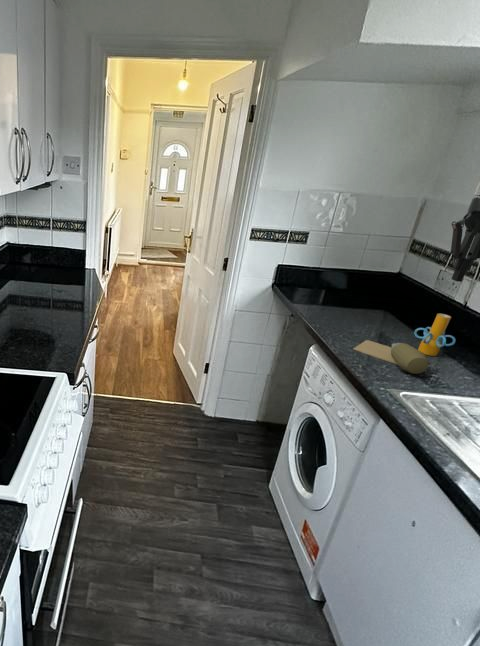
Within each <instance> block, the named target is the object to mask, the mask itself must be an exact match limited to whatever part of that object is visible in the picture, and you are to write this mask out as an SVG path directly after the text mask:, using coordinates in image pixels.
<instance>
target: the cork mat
mask: <svg viewBox="0 0 480 646" xmlns="http://www.w3.org/2000/svg"><path fill="white" fill-rule="evenodd" d="M391 347H392V346H389V345H385V344H381V343H380V342H379V343H378V342H375V341H371V340H369V339H365V340H364V341H363V342H361V343H359V344H358V345H357V346H355V347H353V348H352V350H354V351H357V352H360V353H363V354H366V355H368V356H370V357H373V358H376V359H379V360H382V361H385V362H387V363H391V364H394V365H397V366H399V365H398V364H397V363H396V361H395V360H394V359H393V357H392V356H391Z"/></svg>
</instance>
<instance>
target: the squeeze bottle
mask: <svg viewBox="0 0 480 646" xmlns="http://www.w3.org/2000/svg"><path fill="white" fill-rule="evenodd" d="M390 347H391V356H392V357H393V359H394V360H395V361H396V363H397V364H398V365H397V364H396V365H397V366H399V368H400V369H401V370H402V371H404V372H405V373H410V374H414V375H418V374H422V373H424V372H426V371H427V369H428V368H429V361H428V358H427V355H426V354H424V353H422V352H421V351H419V350H418V348H415V347H413V346H411V345H410V344H408V343H403V342H396V343H391V346H390Z"/></svg>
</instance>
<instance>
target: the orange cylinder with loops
mask: <svg viewBox="0 0 480 646" xmlns="http://www.w3.org/2000/svg"><path fill="white" fill-rule="evenodd" d="M451 319H452V316H451V315H448V314H445V313H436V316H435V318H434V321H433V323H432V325H431V326H427V327H425V328H424V327H418V328H416V329H414V332H413V334H414V337H415V338H417V339H419V340H421V341H420V343H419V346H418V348H417V350H419V351H421V352H422V353H424V354H425V356H430V357H436V356H438V354H439V352H440V350H441V349H442V348H444V346H445V347H452V346H454V345H455V344H456V341H457V340H456V337H455V336H453V335H451V334H446V329H447V327H448V325H449V323H450V322H451ZM418 331H423V336H419V335H418ZM447 338H449V339H452V342H450V343H447Z"/></svg>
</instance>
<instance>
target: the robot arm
mask: <svg viewBox="0 0 480 646" xmlns="http://www.w3.org/2000/svg"><path fill="white" fill-rule="evenodd" d="M474 196H475V197H473V198H472V199H471V201H470V204H469V206H468V209H467V212H466V214H465V215H463V217H462V218H461V219H460V220H457V221H452V222H451V227H452V237H451V246H450V255H452V256H453V257H455V258H456V259H455V261H454V264H453V266H452V268H453V269H454V271H453V274H452V276H451V280H453V281H455V282H458V283H459V282H460V283H462V282H463V279H464V277H465V276H466V272H467V271H470V270H471V269H472V267H473V264H474V262H475V261H477V260H478V259H480V180H479V182H478V183H477V186H476V189H475V191H474ZM464 227H465V231H464V230H463V228H464ZM463 231H464V236H463Z"/></svg>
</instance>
